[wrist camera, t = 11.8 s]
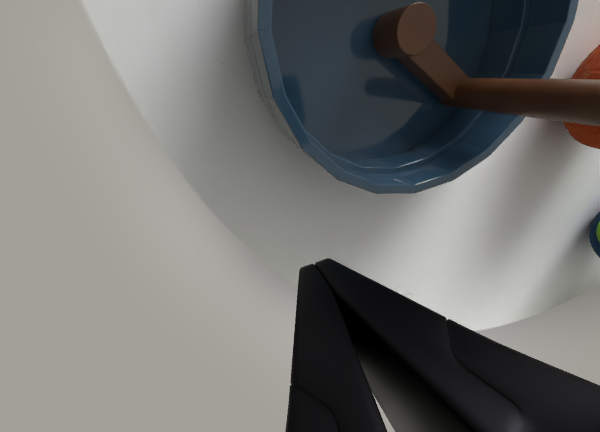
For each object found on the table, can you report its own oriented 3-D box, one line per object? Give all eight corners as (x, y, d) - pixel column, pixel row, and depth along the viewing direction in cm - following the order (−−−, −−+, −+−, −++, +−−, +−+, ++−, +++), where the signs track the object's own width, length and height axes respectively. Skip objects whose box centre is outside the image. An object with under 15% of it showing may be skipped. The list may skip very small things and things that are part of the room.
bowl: (284, 198, 21) (304, 230, 17) (195, -147, 13) (188, -262, 8) (484, 135, 23) (546, 149, 19) (519, -187, 15) (642, -291, 11)
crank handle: (444, 114, 21) (619, 144, 12) (364, 41, 17) (530, 7, 8) (466, 83, 20) (667, 90, 11) (388, 1, 17) (593, -82, 8)
